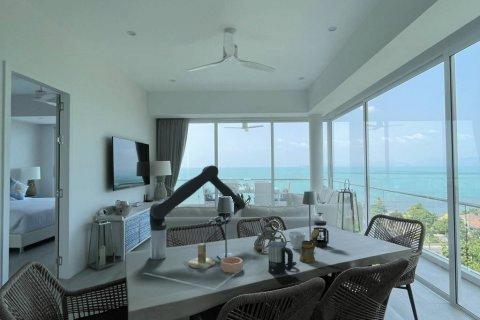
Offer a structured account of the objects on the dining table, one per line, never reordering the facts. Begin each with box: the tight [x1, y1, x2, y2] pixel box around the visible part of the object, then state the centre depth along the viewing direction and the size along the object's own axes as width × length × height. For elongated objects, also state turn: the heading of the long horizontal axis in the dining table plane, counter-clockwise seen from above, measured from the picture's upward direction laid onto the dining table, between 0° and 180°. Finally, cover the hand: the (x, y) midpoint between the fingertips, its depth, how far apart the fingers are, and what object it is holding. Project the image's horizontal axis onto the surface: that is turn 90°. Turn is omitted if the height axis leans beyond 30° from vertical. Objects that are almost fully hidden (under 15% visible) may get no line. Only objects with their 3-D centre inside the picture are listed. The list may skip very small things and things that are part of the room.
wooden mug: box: [299, 229, 320, 264], centre depth 162 cm, size 9×14×18 cm, turn 116°
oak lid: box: [188, 242, 215, 270], centre depth 154 cm, size 15×15×11 cm
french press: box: [313, 212, 330, 249], centre depth 190 cm, size 12×9×23 cm
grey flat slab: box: [182, 256, 221, 273], centre depth 154 cm, size 18×16×1 cm
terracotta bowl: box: [219, 256, 244, 275], centre depth 147 cm, size 11×11×5 cm
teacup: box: [287, 231, 307, 250], centre depth 184 cm, size 12×15×10 cm
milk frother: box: [267, 241, 298, 275], centre depth 147 cm, size 14×16×15 cm
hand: (212, 225), depth 166 cm, fingers open, 8 cm apart
